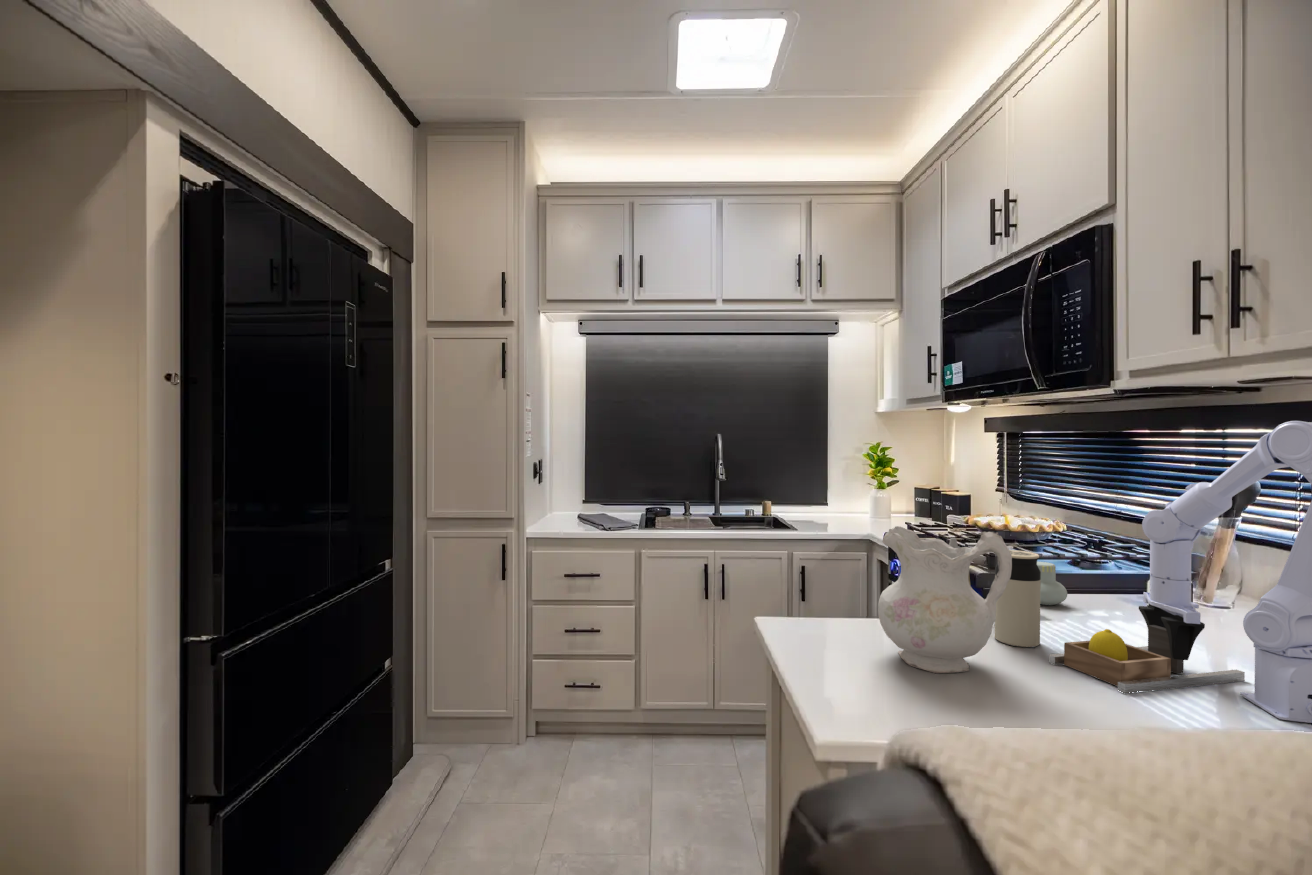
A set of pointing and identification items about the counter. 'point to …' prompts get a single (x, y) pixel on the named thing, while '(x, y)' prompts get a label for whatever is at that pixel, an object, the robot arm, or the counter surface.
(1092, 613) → the counter surface
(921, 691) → the counter surface
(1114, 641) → the lemon
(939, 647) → the ceramic pitcher
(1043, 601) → the air freshener
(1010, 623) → the travel mug
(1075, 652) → the wooden tray
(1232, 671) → the lane rails
